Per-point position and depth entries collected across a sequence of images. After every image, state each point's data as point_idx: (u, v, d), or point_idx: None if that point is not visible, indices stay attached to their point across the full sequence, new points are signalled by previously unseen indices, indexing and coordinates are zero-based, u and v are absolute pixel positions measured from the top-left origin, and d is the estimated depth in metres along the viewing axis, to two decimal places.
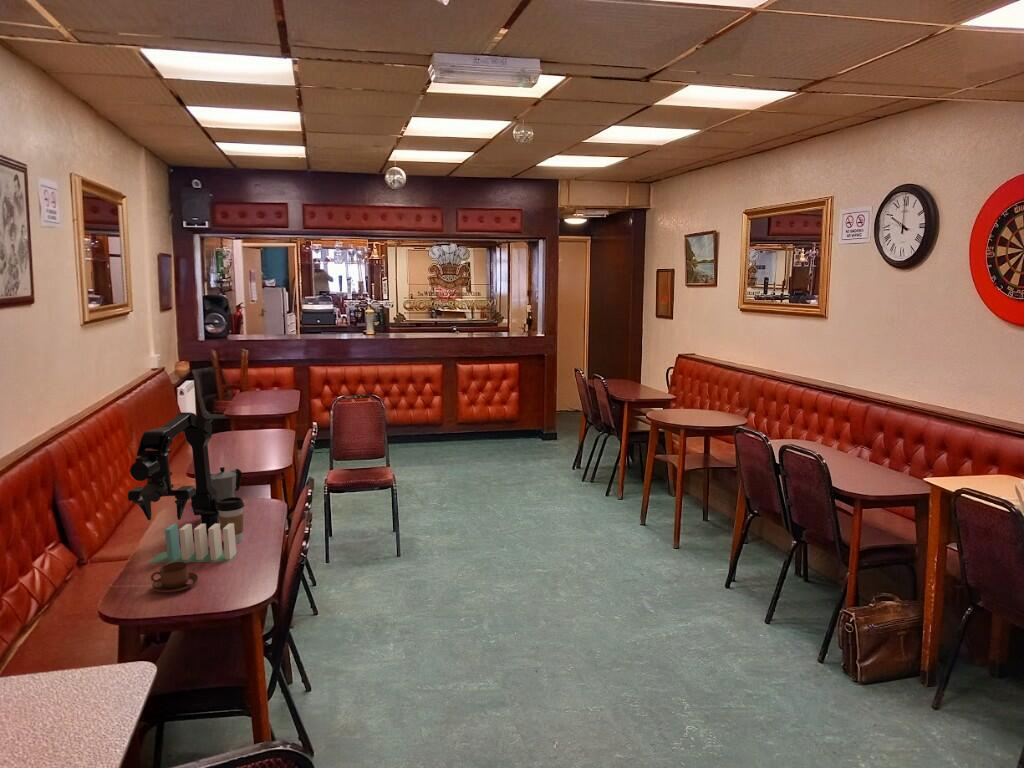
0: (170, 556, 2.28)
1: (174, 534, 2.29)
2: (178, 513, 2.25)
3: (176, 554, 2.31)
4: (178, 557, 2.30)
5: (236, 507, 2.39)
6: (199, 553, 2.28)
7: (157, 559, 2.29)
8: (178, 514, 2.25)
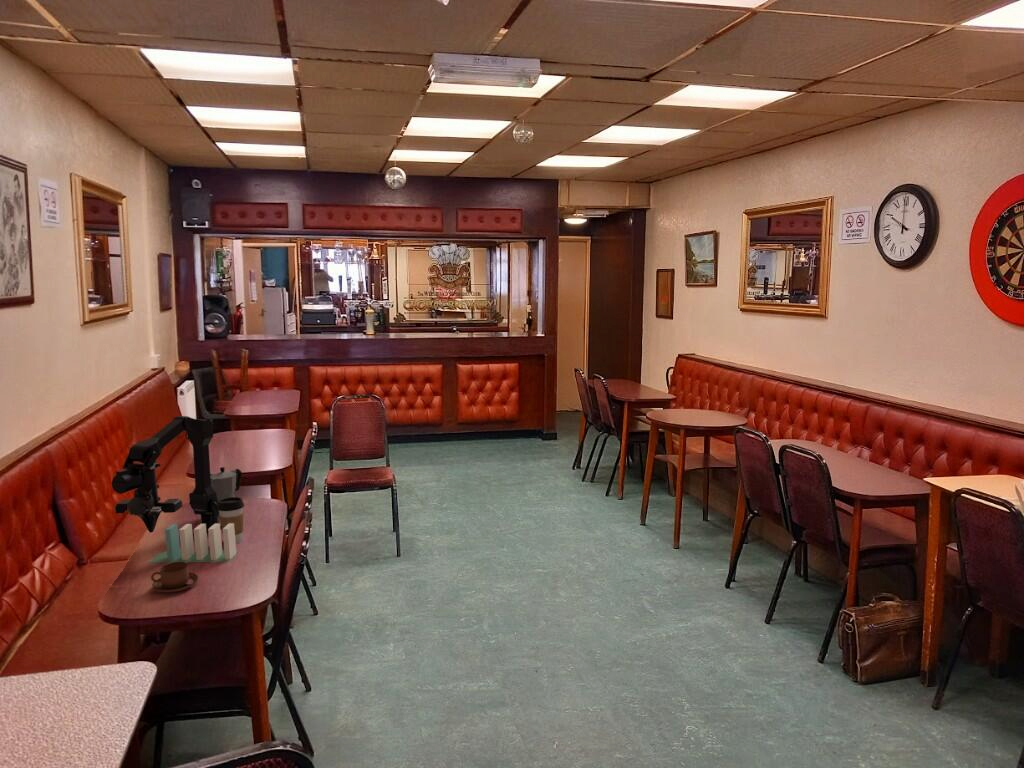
0: (170, 556, 2.28)
1: (174, 534, 2.29)
2: (151, 526, 2.28)
3: (176, 554, 2.31)
4: (178, 557, 2.30)
5: (236, 507, 2.39)
6: (199, 553, 2.28)
7: (157, 559, 2.29)
8: (151, 527, 2.28)
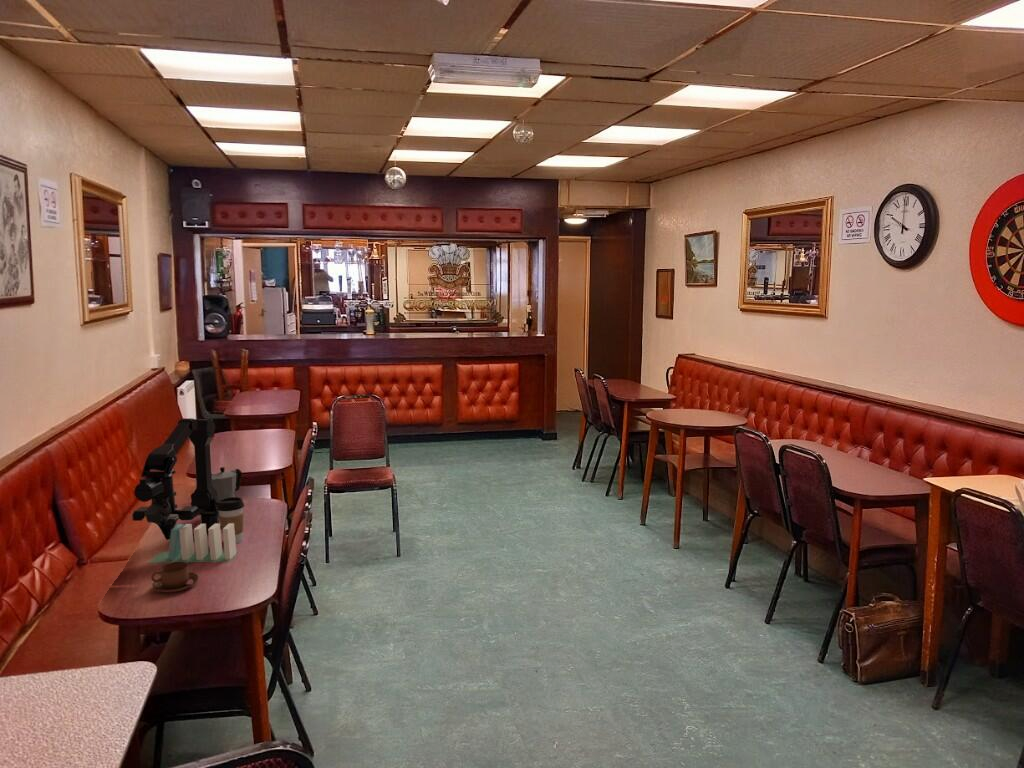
0: (171, 556, 2.28)
1: (179, 534, 2.29)
2: (168, 533, 2.28)
3: (177, 554, 2.31)
4: (178, 557, 2.30)
5: (236, 507, 2.39)
6: (199, 553, 2.28)
7: (157, 559, 2.29)
8: (168, 534, 2.29)
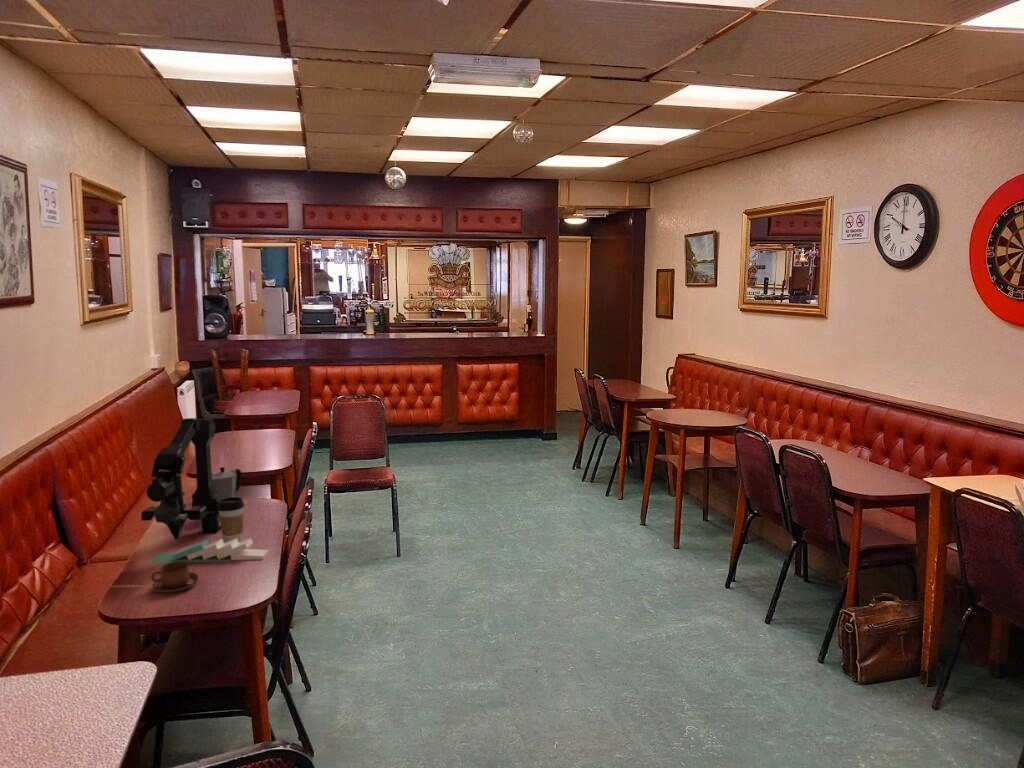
0: (177, 556, 2.28)
1: None
2: (176, 533, 2.28)
3: None
4: None
5: (236, 507, 2.39)
6: (209, 556, 2.28)
7: (157, 559, 2.29)
8: (176, 534, 2.28)
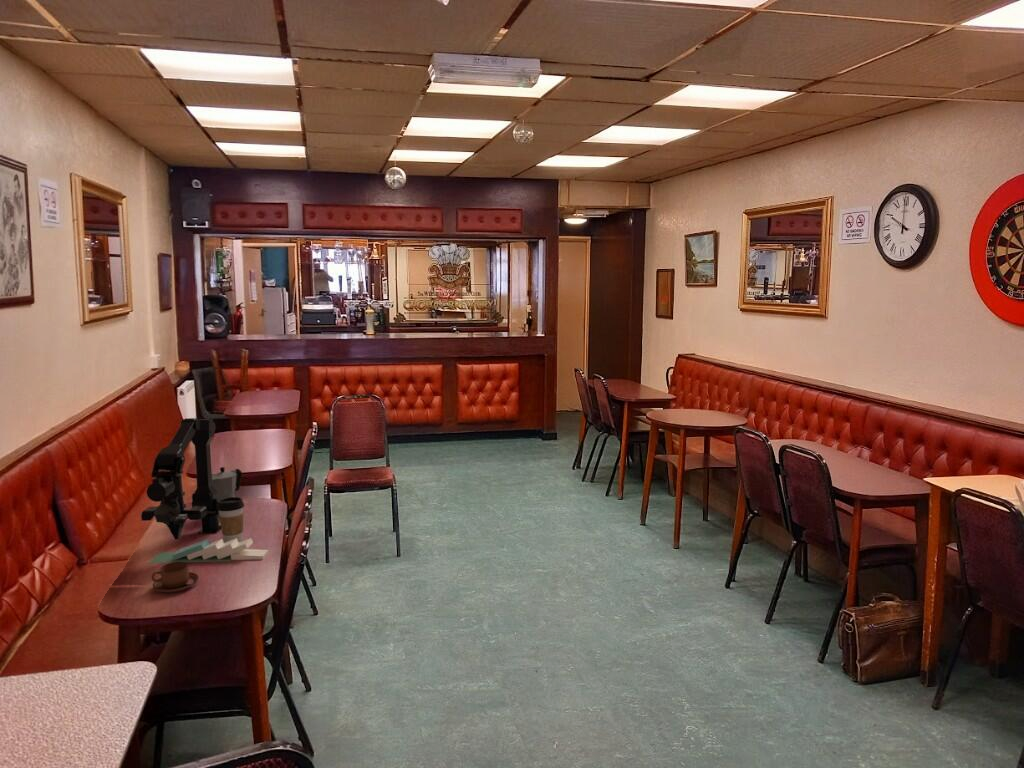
0: (177, 556, 2.28)
1: None
2: (176, 533, 2.28)
3: None
4: None
5: (236, 507, 2.39)
6: (209, 556, 2.28)
7: (157, 559, 2.29)
8: (176, 534, 2.28)
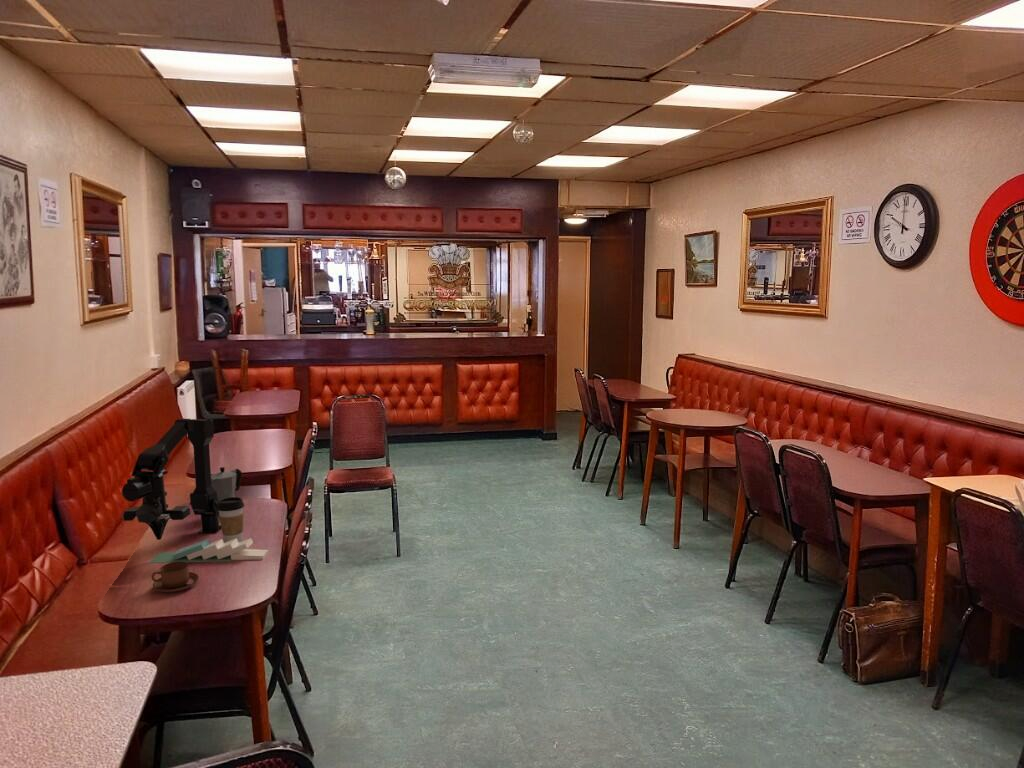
0: (177, 556, 2.28)
1: None
2: (159, 533, 2.28)
3: None
4: None
5: (236, 507, 2.39)
6: (209, 556, 2.28)
7: (157, 559, 2.29)
8: (159, 534, 2.28)
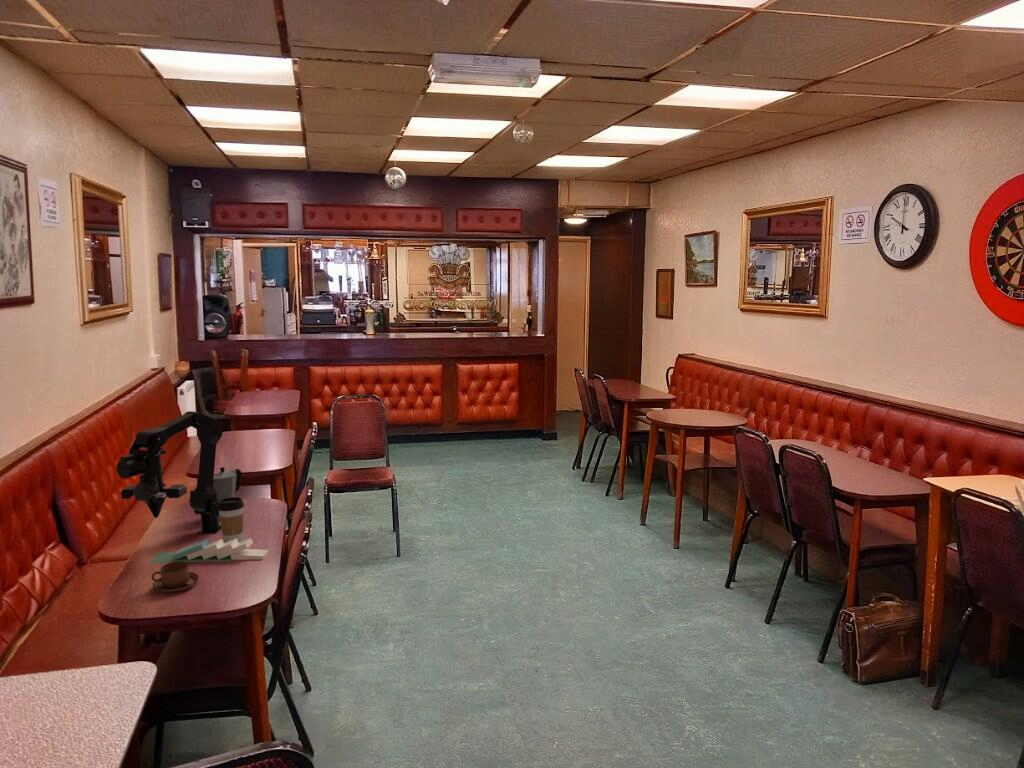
0: (177, 556, 2.28)
1: None
2: (156, 511, 2.33)
3: None
4: None
5: (236, 507, 2.39)
6: (209, 556, 2.28)
7: (157, 559, 2.29)
8: (156, 512, 2.33)
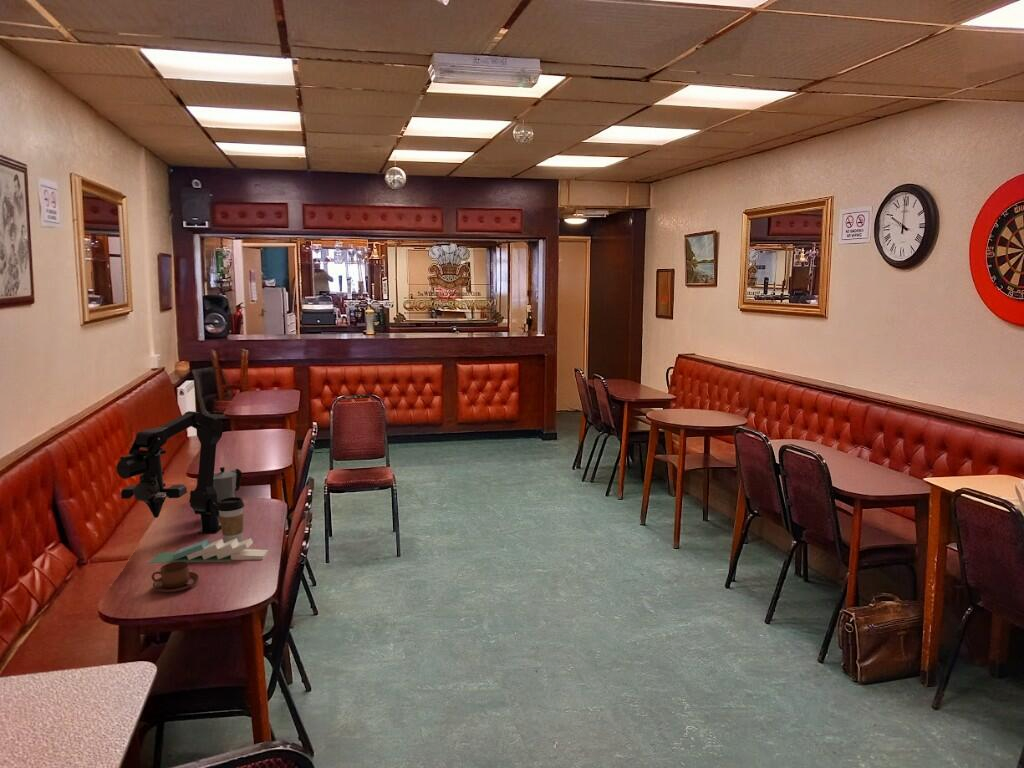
0: (177, 556, 2.28)
1: None
2: (156, 511, 2.33)
3: None
4: None
5: (236, 507, 2.39)
6: (209, 556, 2.28)
7: (157, 559, 2.29)
8: (156, 512, 2.33)
